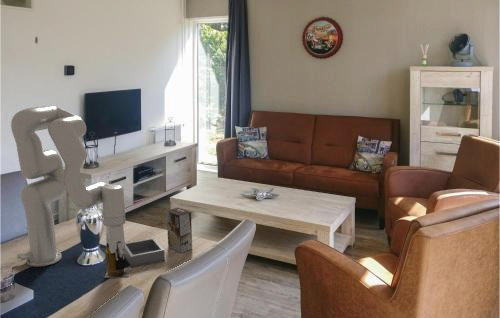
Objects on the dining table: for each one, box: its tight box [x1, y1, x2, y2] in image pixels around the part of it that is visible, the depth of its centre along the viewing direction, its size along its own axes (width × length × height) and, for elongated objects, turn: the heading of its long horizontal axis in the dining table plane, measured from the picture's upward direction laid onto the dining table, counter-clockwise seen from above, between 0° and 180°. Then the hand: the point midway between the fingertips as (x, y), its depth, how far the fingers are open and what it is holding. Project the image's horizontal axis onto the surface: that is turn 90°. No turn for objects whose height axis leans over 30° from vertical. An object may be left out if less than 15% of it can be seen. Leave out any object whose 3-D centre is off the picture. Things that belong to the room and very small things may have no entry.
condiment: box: [104, 243, 132, 279], centre depth 169 cm, size 7×8×12 cm
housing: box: [123, 237, 166, 269], centre depth 183 cm, size 13×14×4 cm
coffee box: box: [166, 207, 193, 253], centre depth 191 cm, size 9×6×16 cm
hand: (117, 264), depth 169 cm, fingers open, 8 cm apart
